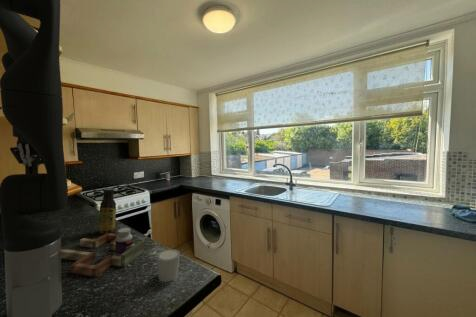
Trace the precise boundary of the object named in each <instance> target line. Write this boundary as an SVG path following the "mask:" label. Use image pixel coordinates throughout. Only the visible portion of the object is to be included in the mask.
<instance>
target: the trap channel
mask: <svg viewBox="0 0 476 317" xmlns="http://www.w3.org/2000/svg"><path fill="white" fill-rule="evenodd" d="M117 236H118V233H107V234H102V235H101V236H99V237H98V238H96V239H93V238H85V237H83V238H81V239H79V247H86V248H93V249H97V248H98V247H100V246H102V245H103V244H105V243H108V242H110V243H109V250H110V251H115V240H116V237H117ZM142 253H144V241H143V240H139V241H137V242H136V243H132V247H131V248H129V249H128V250H127V251H125V252H124V253H123V254H121V256H115V254H114V255H112V254H110V255H109V256H107V257H106V258H105V259H103V260H102V261H100V262H99V263H97V264H92V263H93V262H94V261H96V253H95V252H89V251H81V250H74V249H73V250H72V249H64V248H61V260H62V259H63V260H70V261H71V260H72V261H75V262H73V263H72V264H69V265H70V274H74V275H83V276H89V277H96V278H97V277H98V276H99V275H100V274H102V273H103V272H104V271H105V270H107V269H108V268H110V267H111V266H114V267H122V268H126V267H127V266H128V265H129V264H130V263H131V262H133V261H134V260H135V259H137V258H138V257H139V256H140V255H141V254H142Z"/></svg>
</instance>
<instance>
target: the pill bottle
mask: <svg viewBox="0 0 476 317" xmlns="http://www.w3.org/2000/svg"><path fill="white" fill-rule="evenodd" d="M117 234H118V236H117V237H116V240H115V250H114V252H115V254H114V256H121V254H123V253H124V252H125V251H127V250H128V249H129V248H131V247H132V244H134V243H133V242H134V241H133V239H134V238H133V234H131V228H130V227H123V228H120V229H117Z"/></svg>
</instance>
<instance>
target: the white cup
mask: <svg viewBox="0 0 476 317" xmlns="http://www.w3.org/2000/svg"><path fill="white" fill-rule="evenodd" d="M180 257H181V252H180V251H179V250H178V249H175V248H174V249H173V248H169V249H164V250H161V251H160V252H159V253H157V255H156V264H157V272H158V280H159V281H160V282H161V283H162V282H163V283H169V282H173V281H174V280H175V279H177V278H178V276H179V275H178V273H179V265H180Z"/></svg>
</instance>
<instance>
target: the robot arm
mask: <svg viewBox="0 0 476 317" xmlns="http://www.w3.org/2000/svg"><path fill="white" fill-rule="evenodd" d="M22 16H24V17H29V18H31V19H36V20H38V21H39V22H40V23H39V27H38V30H36V29H35V28H34V27H33V26H32V25H31V24H30V23H29V22H27V20H25V19H24V18H23V17H22ZM0 30H1V32H2V34H3V37H4V41H5V45H6V48H7V52H5V53H3V55H2V58H1V64H2V66H3V68H4V72H3V73H2V75H1V77H0V99H1V109H2V110H1V111H2V114H3V116H4V117H5V118H6V120H7V121H8V123H9V124H10V125H11V128H12V129H11V130H12V137H14V138H17V141H16V145H15V146H14V147H9V151H10V152H11V153H12V155H13V156H14V158H15V160H16V161H17V162H18V164H20V165H23V166H24V167H25V169H24V172H25V173H18V174H17V173H16V174H9V175H7V176H5V177H4V178H3V179H2V181H1V183H0V217H1V228H2V231H1V232H2V238H3V246H4V247H3V250H4V273H5V274H4V276H5V277H4V279H5V280H4V281H5V300H6V301H5V304H6V317H53V315H54V314H55V313H56V312H57V311H58V310H59V309H60V307H61V306H62V304H63V292H62V291H63V289H62V288H63V287H62V284H63V283H62V280H63V279H62V259H61V249H62V237H61V236H62V235H61V234H62V230H61V226H60V225H59V224H57V223H53V222H48V221H43V220H38V219H35V218H33V217H30V216H29V215H36V214H37V215H38V214H44V213H51V212H52V213H53V212H59V211H61V210H63V209H64V208H65V207H66V206H67V203H68V198H69V190H68V189H69V188H68V178H67V170H66V169H67V168H66V163H65V162H66V161H65V160H66V159H65V153H64V124H63V123H64V122H63V121H64V120H63V119H64V116H63V115H64V107H63V106H64V104H63V91H62V90H63V88H62V78H61V65H60V35H61V34H60V31H61V0H0ZM41 165H44V168H45V171H46V173H43V172H42V173H39V166H41Z"/></svg>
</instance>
